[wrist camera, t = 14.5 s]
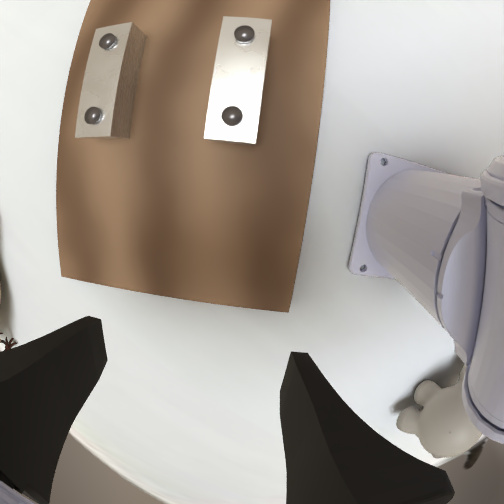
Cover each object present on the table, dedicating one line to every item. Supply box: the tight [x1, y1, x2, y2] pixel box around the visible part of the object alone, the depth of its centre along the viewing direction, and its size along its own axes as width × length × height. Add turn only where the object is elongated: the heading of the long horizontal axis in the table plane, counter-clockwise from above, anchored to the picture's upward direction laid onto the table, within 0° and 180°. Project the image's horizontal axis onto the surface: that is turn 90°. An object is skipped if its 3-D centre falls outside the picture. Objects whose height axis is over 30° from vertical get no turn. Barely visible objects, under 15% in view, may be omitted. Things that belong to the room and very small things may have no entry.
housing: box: [75, 16, 272, 146], centre depth 13 cm, size 10×7×3 cm
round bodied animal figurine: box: [396, 364, 482, 458], centre depth 18 cm, size 7×12×8 cm, turn 141°
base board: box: [56, 0, 330, 313], centre depth 14 cm, size 17×29×1 cm, turn 173°
